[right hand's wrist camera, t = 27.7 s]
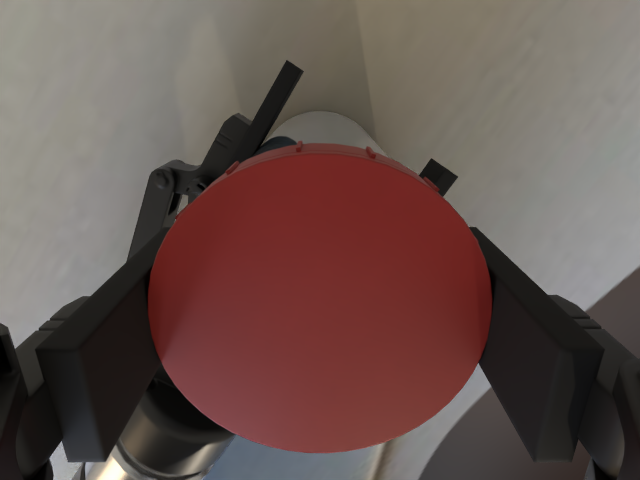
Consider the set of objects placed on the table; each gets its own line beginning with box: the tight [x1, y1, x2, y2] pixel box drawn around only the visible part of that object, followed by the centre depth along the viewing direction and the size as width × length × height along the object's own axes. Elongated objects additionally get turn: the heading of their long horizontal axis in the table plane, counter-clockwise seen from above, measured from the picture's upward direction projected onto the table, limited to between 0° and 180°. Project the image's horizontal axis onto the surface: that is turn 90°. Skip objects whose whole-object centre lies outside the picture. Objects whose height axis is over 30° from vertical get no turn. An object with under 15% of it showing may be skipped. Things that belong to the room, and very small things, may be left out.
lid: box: [148, 141, 493, 453], centre depth 11 cm, size 9×9×2 cm
